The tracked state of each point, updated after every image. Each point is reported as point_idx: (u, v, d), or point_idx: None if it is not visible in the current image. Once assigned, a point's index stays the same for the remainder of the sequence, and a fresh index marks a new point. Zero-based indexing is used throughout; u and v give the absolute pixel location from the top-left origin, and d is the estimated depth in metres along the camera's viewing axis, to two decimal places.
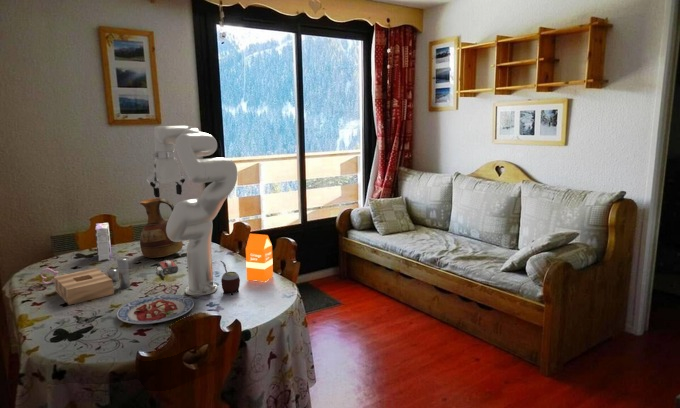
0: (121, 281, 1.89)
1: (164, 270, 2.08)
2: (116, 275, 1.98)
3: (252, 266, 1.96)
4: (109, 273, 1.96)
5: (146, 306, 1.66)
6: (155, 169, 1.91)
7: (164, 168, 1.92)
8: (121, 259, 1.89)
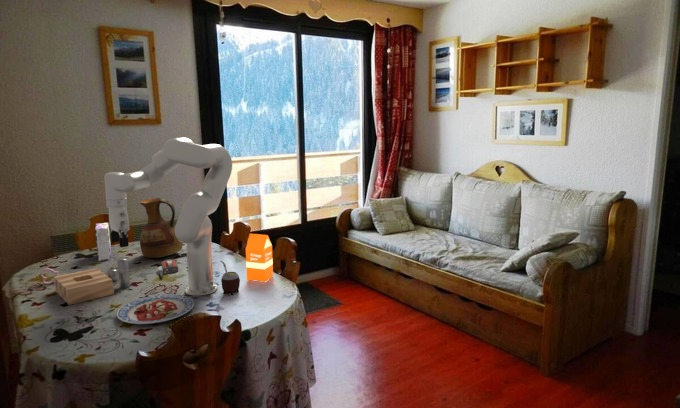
0: (121, 281, 1.89)
1: (164, 270, 2.08)
2: (116, 275, 1.98)
3: (252, 266, 1.96)
4: (109, 273, 1.96)
5: (146, 306, 1.66)
6: (123, 218, 1.83)
7: None
8: (121, 259, 1.89)
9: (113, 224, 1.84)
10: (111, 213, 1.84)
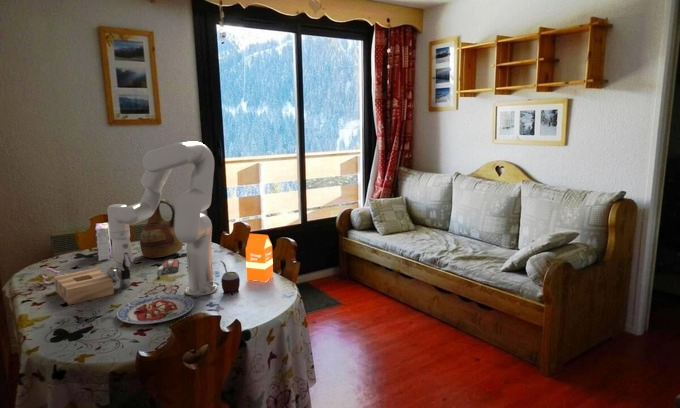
0: (121, 281, 1.89)
1: (164, 269, 2.08)
2: (116, 275, 1.98)
3: (252, 266, 1.96)
4: (109, 273, 1.96)
5: (146, 306, 1.66)
6: (126, 249, 1.85)
7: None
8: None
9: (117, 256, 1.86)
10: (115, 245, 1.86)
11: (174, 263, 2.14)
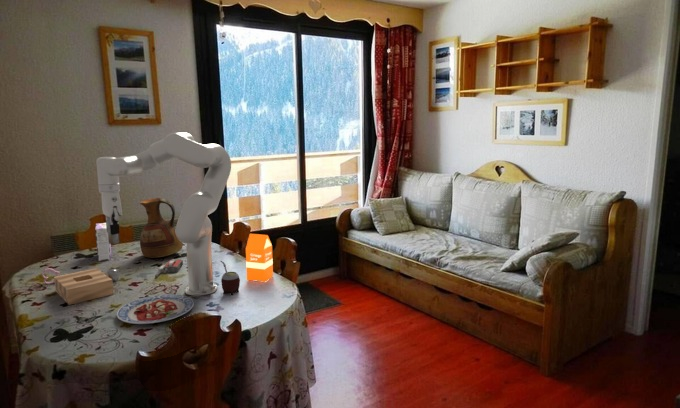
0: (110, 236, 1.85)
1: (164, 269, 2.09)
2: (116, 275, 1.98)
3: (252, 266, 1.96)
4: (109, 273, 1.96)
5: (146, 306, 1.66)
6: (115, 202, 1.81)
7: None
8: None
9: (106, 209, 1.82)
10: (103, 198, 1.82)
11: (176, 263, 2.14)
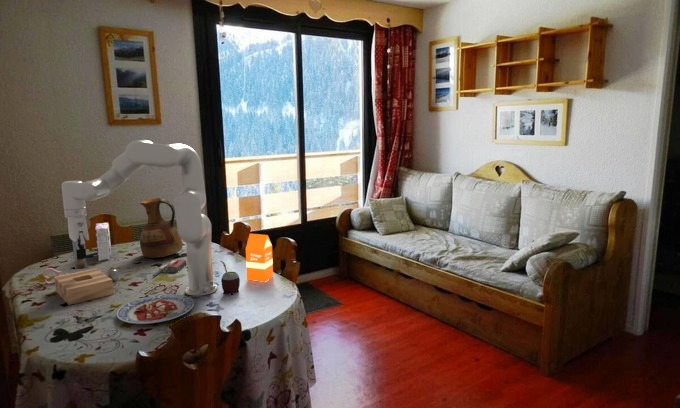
0: (76, 261, 1.81)
1: (164, 269, 2.10)
2: (116, 275, 1.98)
3: (252, 266, 1.96)
4: (109, 273, 1.96)
5: (146, 306, 1.66)
6: (81, 227, 1.77)
7: None
8: None
9: (72, 234, 1.78)
10: (69, 223, 1.78)
11: (177, 263, 2.14)
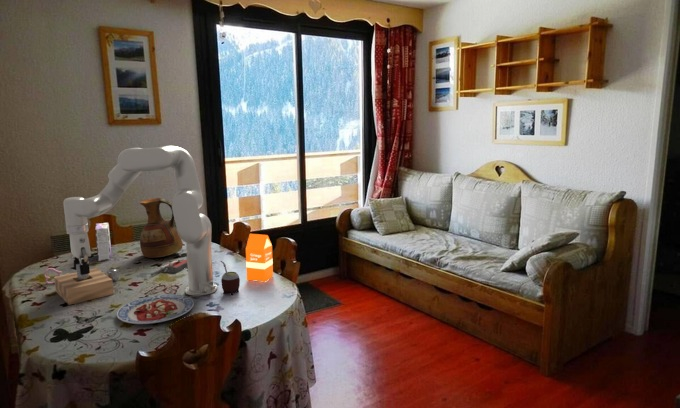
0: None
1: (165, 268, 2.10)
2: (116, 275, 1.98)
3: (252, 266, 1.96)
4: (109, 273, 1.96)
5: (146, 306, 1.66)
6: (83, 244, 1.79)
7: None
8: None
9: (74, 250, 1.79)
10: (71, 239, 1.79)
11: (179, 263, 2.13)
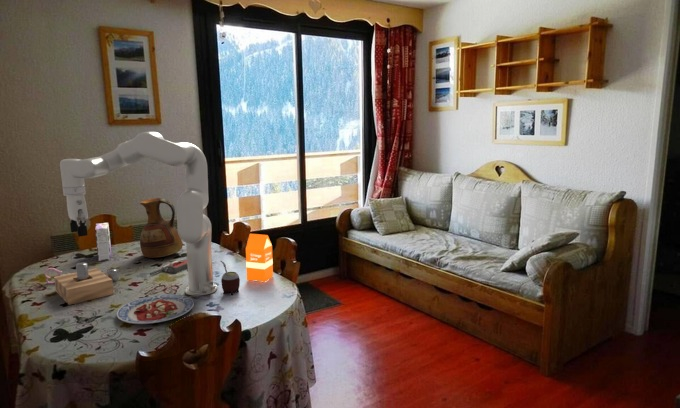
0: None
1: (165, 268, 2.11)
2: (116, 275, 1.98)
3: (252, 266, 1.96)
4: (109, 273, 1.96)
5: (146, 306, 1.66)
6: (80, 205, 1.76)
7: None
8: (80, 264, 1.83)
9: (71, 213, 1.77)
10: (68, 201, 1.77)
11: (179, 264, 2.13)
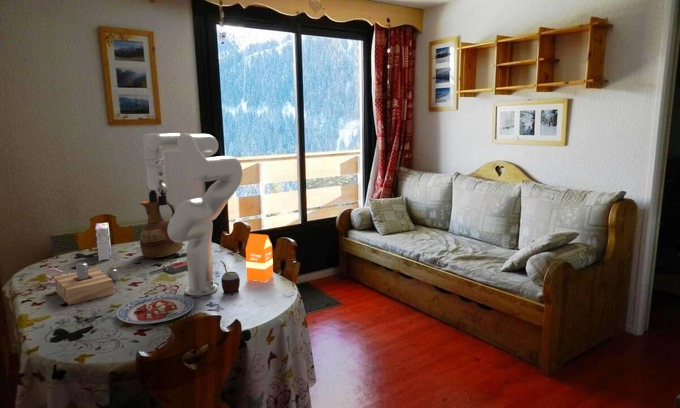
0: None
1: None
2: (116, 275, 1.98)
3: (252, 266, 1.96)
4: (109, 273, 1.96)
5: (146, 306, 1.66)
6: (161, 177, 1.90)
7: None
8: (80, 264, 1.83)
9: (152, 183, 1.91)
10: (150, 173, 1.91)
11: (180, 264, 2.12)
